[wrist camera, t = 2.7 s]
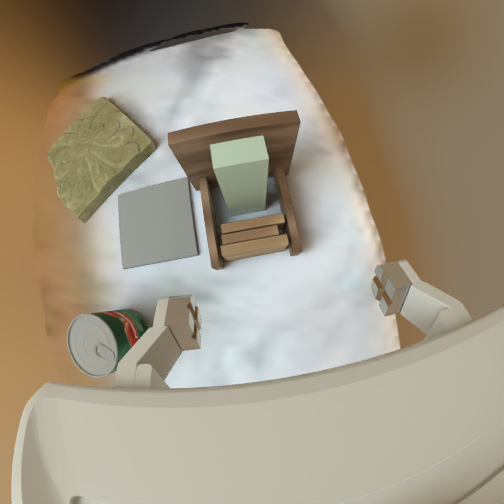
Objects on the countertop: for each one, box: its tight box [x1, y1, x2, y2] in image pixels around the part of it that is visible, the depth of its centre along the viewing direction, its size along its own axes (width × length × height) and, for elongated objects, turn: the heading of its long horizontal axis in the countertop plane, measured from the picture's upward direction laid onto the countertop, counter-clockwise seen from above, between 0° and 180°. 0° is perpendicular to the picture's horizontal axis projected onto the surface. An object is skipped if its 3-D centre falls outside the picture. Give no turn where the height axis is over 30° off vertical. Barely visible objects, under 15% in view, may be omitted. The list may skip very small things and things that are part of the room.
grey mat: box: [118, 177, 198, 269], centre depth 39 cm, size 12×12×1 cm
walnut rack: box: [168, 110, 302, 270], centre depth 32 cm, size 14×14×14 cm
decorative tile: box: [47, 97, 156, 223], centre depth 40 cm, size 19×20×4 cm
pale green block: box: [210, 135, 269, 216], centre depth 31 cm, size 3×5×16 cm, turn 100°
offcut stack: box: [220, 213, 289, 261], centre depth 36 cm, size 4×8×6 cm, turn 100°
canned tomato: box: [67, 309, 150, 378], centre depth 32 cm, size 8×8×11 cm
